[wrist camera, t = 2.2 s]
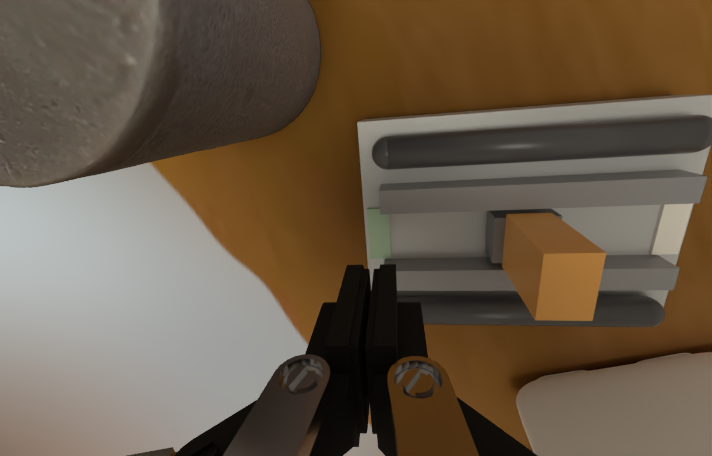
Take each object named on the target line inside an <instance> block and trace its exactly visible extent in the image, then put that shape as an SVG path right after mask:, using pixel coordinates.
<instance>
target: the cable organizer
mask: <svg viewBox="0 0 712 456" xmlns="http://www.w3.org/2000/svg"><path fill="white" fill-rule="evenodd" d="M516 404H517V408H518V411H519V415H520V419H521V421H522V424H523V427H524V429H525V432H526V435H527V437H528V440H529V443H530V445H531V448H532V451H533V453H535V454H536V455H537V456H712V352H705V353H696V354H691V353H678V354H673V355H667V356H662V357H657V358H652V359H646V360H642V361H639V362H637V363H635V364H628V365H622V366H616V367H610V368H604V369H598V370H591V371H586V370H577V371H571V372H565V373H559V374H552V375H546V376H542V377H540V378H538V380H534V381H532V382H530V383H528V384H526V385H524V386H523V387H522V388H521V389H520V390H519V392H518V394H517V396H516Z"/></svg>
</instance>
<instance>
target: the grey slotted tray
mask: <svg viewBox="0 0 712 456" xmlns="http://www.w3.org/2000/svg"><path fill="white" fill-rule="evenodd" d="M357 126H358V139H359V153H360V166H361V180H362V193H363V207H364V220H365V234H366V247H367V261H368V269H369V270H370V282H371V289H372V281H373V272H374V269H380V264H396V277H397V302H421V309H422V316H423V324H441V325H517V326H593V327H653V326H658V324H660V323H661V322H662V321H663V320H664V317H665V311H664V308H663V307H664V304H665V300H666V297H667V294H668V290H674V287H675V284H676V280H677V277H678V274H679V270H680V268H679V267H677V266H676V263H677V259H678V256H679V253H680V249H681V246H682V242H683V239H684V236H685V232H686V229H687V225H688V222H689V219H690V215H691V212H692V208H693V205H694V203H700V200H701V197H702V193H703V190H704V187H705V183H706V180H707V177H708V176H705V175H702V174H703V171H704V167H705V164H706V160H707V157H708V154H709V150H710V147H711V145H712V94H701V95H668V96H656V97H643V98H630V99H617V100H604V101H592V102H579V103H566V104H553V105H540V106H527V107H515V108H502V109H489V110H476V111H463V112H451V113H438V114H425V115H412V116H399V117H387V118H374V119H363V120H361V121H359V122H357ZM551 208H552V209H553V210H555V211H556V212H557V213H559V214H560V215H562V216H563V217H562V220H563V221H564V222H565V223H567V224H568V225H569V226H571V227H572V228H573V229H575V230H576V231H578V232H579V233H580V234H582V235H583V236H584V237H586V238H587V239H588V240H590V241H591V242H593V243H594V244H595V245H597V246H598V247H599V248H601V249H602V250H603V251H605V252H606V258H605V263H604V267H603V272H602V277H601V282H600V287H599V291H598V296H597V301H596V306H595V311H594V316H593V320H592V321H552V320H535V319H534V318H533V316H532V315H531V313H530V311H529V310H528V308H527V306H526V305H525V303H524V302H523V300H522V298H521V297H520V295H519V293H518V292H517V290H516V289H515V287H514V285H513V284H512V282H511V280H510V279H509V277H508V276H507V274H506V272H505V271H504V269H503V267H502V263H491V261H490V259H489V257H488V256H487V254H486V252H485V247H486V231H487V216H488V211H494V210H523V209H551Z"/></svg>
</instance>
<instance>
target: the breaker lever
mask: <svg viewBox="0 0 712 456" xmlns="http://www.w3.org/2000/svg"><path fill="white" fill-rule="evenodd" d="M562 217H563V216H562V215H560V214H559V213H557V212H556V211H555V210H553V209H552V208H551V209H523V210H494V211H488V216H487V231H486V247H485V252H486V254H487V256H488V257H489V259H490V261H491V263H502V267H503V269H504V271H505V272H506V274H507V276H508V277H509V279H510V280H511V282H512V284H513V285H514V287H515V289H516V290H517V292H518V293H519V295H520V297H521V298H522V300H523V302H524V303H525V305H526V306H527V308H528V310H529V311H530V313H531V315H532V316H533V318H534V319H535V320H552V321H592V320H593V316H594V311H595V306H596V301H597V296H598V291H599V287H600V282H601V277H602V272H603V267H604V263H605V258H606V252H605V251H603V250H602V249H601V248H599V247H598V246H597V245H595V244H594V243H593V242H591V241H590V240H588V239H587V238H586V237H584V236H583V235H582V234H580V233H579V232H578V231H576V230H575V229H573V228H572V227H571V226H569V225H568V224H567V223H565V222H564V221H563V220H562Z"/></svg>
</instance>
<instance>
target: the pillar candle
mask: <svg viewBox="0 0 712 456" xmlns="http://www.w3.org/2000/svg"><path fill="white" fill-rule="evenodd" d="M320 58H321V46H320V37H319V31H318V27H317V23H316V19H315V16H314V13H313V10H312V8H311V6H310V4H309V2H308V0H0V186H10V187H22V188H25V187H38V186H45V185H49V184H55V183H59V182H64V181H68V180H73V179H77V178H81V177H86V176H91V175H97V174H101V173H106V172H110V171H114V170H119V169H123V168H127V167H132V166H136V165H140V164H143V163H148V162H152V161H157V160H161V159H166V158H170V157H174V156H178V155H184V154H187V153H192V152H196V151H201V150H207V149H213V148H216V147H220V146H225V145H229V144H233V143H237V142H242V141H246V140H252V139H255V138H260V137H264V136H267V135H270V134H273V133H275V132H277V131H279V130H281V129H283V128H284V127H285V126H287V125H288V124H289V123H291V122H292V121H293V120H294V119H295V118H296V117H297V116H298V115H299V114H300V113H301V112H302V110H303V109H304V108H305V106H306V105H307V104H308V102H309V100H310V98H311V96H312V94H313V92H314V89H315V85H316V83H317V79H318V75H319V69H320Z"/></svg>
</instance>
